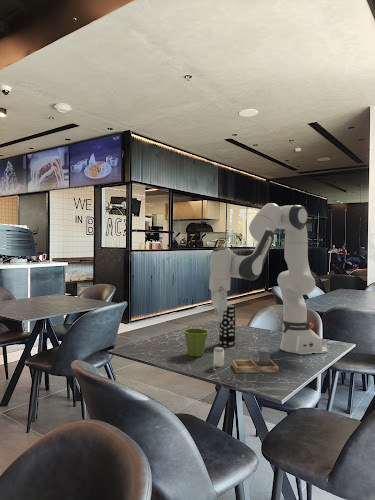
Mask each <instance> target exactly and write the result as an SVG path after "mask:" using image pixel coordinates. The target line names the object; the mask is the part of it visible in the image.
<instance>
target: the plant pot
mask: <svg viewBox="0 0 375 500" xmlns="http://www.w3.org/2000/svg"><path fill="white" fill-rule="evenodd" d="M183 333H184V336H185V343H186V349H187V351H186V352H187V355H188V356H189V357H197V358H199V357H200V358H202V356H204V352H205V347H206V341H207V338H208V335H209V330H208V329H205V328H195V327H194V328H186V329H183Z"/></svg>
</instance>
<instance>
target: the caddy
mask: <svg viewBox="0 0 375 500" xmlns="http://www.w3.org/2000/svg"><path fill="white" fill-rule="evenodd" d="M231 366H232V368H233V371H235V372H236V373H237V374H238V373H239V374H240V373H243V374H247V373H248V374H249V373H279V372H280V371H279V369H280V368H279V366H278V365H277V363H275V361H274V360H272V359H270V366H262V367H259V359H231Z"/></svg>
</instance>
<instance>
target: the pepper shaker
mask: <svg viewBox="0 0 375 500" xmlns="http://www.w3.org/2000/svg"><path fill="white" fill-rule="evenodd" d="M270 352H271V350H270V348H268V347H259V350H258V360H259V367H262V366H270V360H271V359H270V355H271V353H270Z"/></svg>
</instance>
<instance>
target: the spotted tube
mask: <svg viewBox="0 0 375 500" xmlns="http://www.w3.org/2000/svg"><path fill="white" fill-rule="evenodd" d="M236 307H237V305H234V304H227V311H224V314H223V320H222V321H219V327H218V329H219V331H218V334H219V337H218V338H219V341H218V343H219V344H218V345H219V346H221V347H226V348H230V347H232V348H233V347H236V332H237V331H236V330H237V329H236V328H237V327H236V324H237V322H236V320H237V319H236V317H237V315H236V313H237V312H236V311H237V309H236Z"/></svg>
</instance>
